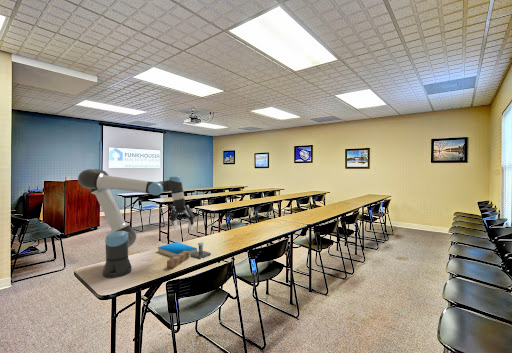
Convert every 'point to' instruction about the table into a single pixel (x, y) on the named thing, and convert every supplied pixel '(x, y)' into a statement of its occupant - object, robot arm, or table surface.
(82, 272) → the table surface
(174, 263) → the walnut beam
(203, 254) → the grey post on base
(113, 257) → the robot arm
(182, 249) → the book
